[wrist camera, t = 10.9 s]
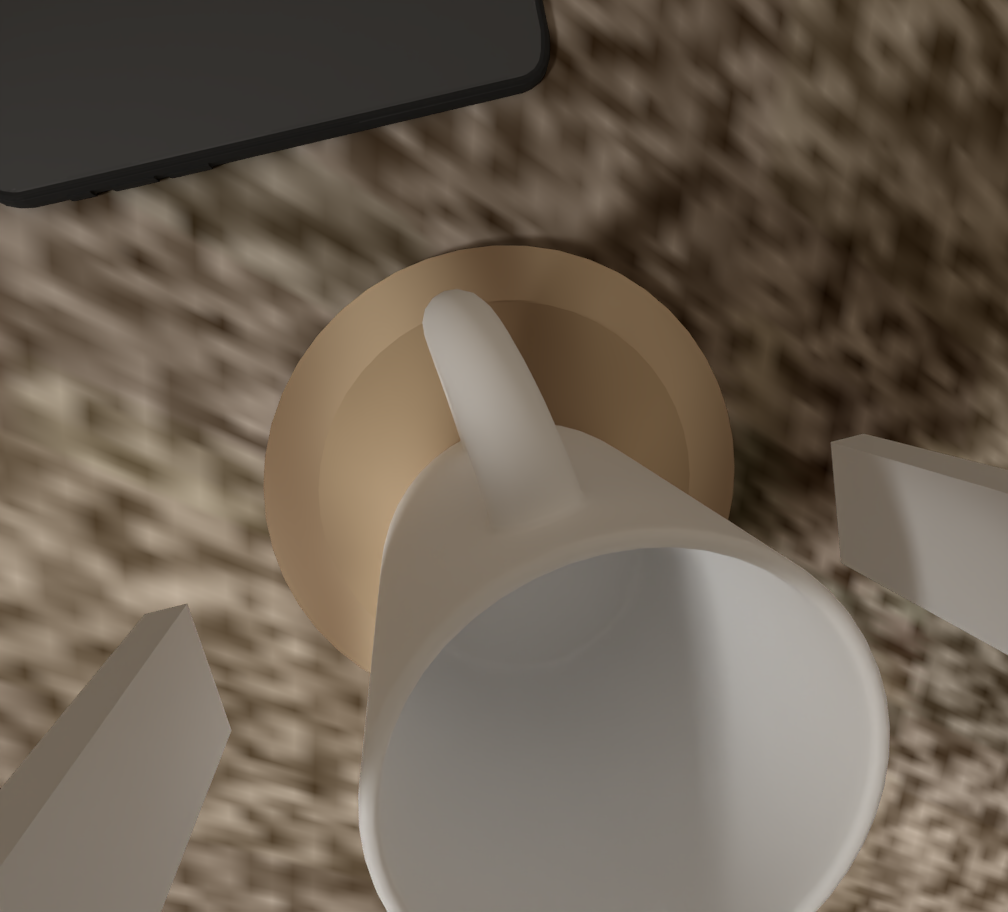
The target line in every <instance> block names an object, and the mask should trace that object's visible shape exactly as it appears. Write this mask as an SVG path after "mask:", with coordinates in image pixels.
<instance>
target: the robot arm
mask: <svg viewBox="0 0 1008 912" xmlns="http://www.w3.org/2000/svg"><path fill="white" fill-rule="evenodd" d="M831 452H832V464H833V476H834V487H835V499H836V511H837V522H838V534H839V545H840V557H841V563H842V564H844V565H846V566H848V567H849V568H851V569H853V570H855V571H857V572H859V573H860V574H862V575H864V576H866V577H868V578H869V579H871V580H873V581H875V582H877V583H878V584H880V585H882V586H884V587H886V588H887V589H889V590H891V591H893V592H895V593H896V594H898V595H900V596H902V597H904V598H906V599H907V600H909V601H911V602H913V603H915V604H916V605H918V606H920V607H922V608H924V609H925V610H927V611H929V612H931V613H933V614H934V615H936V616H938V617H940V618H942V619H943V620H945V621H947V622H949V623H951V624H953V625H954V626H956V627H958V628H960V629H962V630H963V631H965V632H967V633H969V634H971V635H972V636H974V637H976V638H978V639H980V640H981V641H983V642H985V643H987V644H989V645H990V646H992V647H994V648H996V649H998V650H1000V651H1001V652H1003V653H1005V654H1007V655H1008V470H1006V469H1002V468H998V467H994V466H990V465H986V464H982V463H978V462H974V461H970V460H966V459H962V458H958V457H954V456H950V455H947V454H943V453H939V452H935V451H931V450H927V449H923V448H919V447H915V446H911V445H907V444H903V443H899V442H895V441H891V440H887V439H883V438H879V437H875V436H871V435H867V434H860V435H856V436H853V437H849V438H845V439H841V440H837V441H833V442H831ZM230 732H231V728H230V725H229V722H228V719H227V716H226V713H225V710H224V708H223V705H222V702H221V699H220V696H219V693H218V690H217V687H216V685H215V682H214V679H213V676H212V673H211V670H210V667H209V665H208V662H207V659H206V656H205V653H204V650H203V647H202V644H201V642H200V639H199V636H198V633H197V630H196V627H195V624H194V621H193V619H192V616H191V613H190V610H189V607H188V604H184V605H180V606H176V607H172V608H168V609H164V610H160V611H156V612H152V613H148V614H145V615H144V616H143V617H142V618H141V619H140V621H139V622H138V623H137V624H136V626H135V627H134V628H133V629H132V630H131V632H130V633H129V634H128V635H127V636H126V638H125V639H124V640H123V641H122V642H121V644H120V645H119V646H118V647H117V648H116V650H115V651H114V652H113V653H112V655H111V656H110V657H109V658H108V659H107V661H106V662H105V663H104V664H103V665H102V667H101V668H100V669H99V670H98V671H97V673H96V674H95V675H94V676H93V678H92V679H91V680H90V681H89V682H88V684H87V685H86V686H85V687H84V688H83V690H82V691H81V692H80V693H79V694H78V696H77V697H76V698H75V699H74V701H73V702H72V703H71V704H70V705H69V707H68V708H67V709H66V710H65V711H64V713H63V714H62V715H61V716H60V717H59V719H58V720H57V721H56V722H55V724H54V725H53V726H52V727H51V728H50V730H49V731H48V732H47V733H46V734H45V736H44V737H43V738H42V739H41V740H40V742H39V743H38V744H37V745H36V747H35V748H34V749H33V750H32V751H31V753H30V754H29V755H28V756H27V757H26V759H25V760H24V761H23V762H22V763H21V765H20V766H19V767H18V768H17V769H16V771H15V772H14V773H13V774H12V776H11V777H10V778H9V779H8V780H7V782H6V783H5V784H4V785H3V786H2V788H0V912H161V910H162V908H163V905H164V903H165V900H166V898H167V895H168V892H169V890H170V887H171V885H172V882H173V880H174V877H175V874H176V872H177V869H178V867H179V864H180V861H181V859H182V856H183V854H184V851H185V849H186V846H187V843H188V841H189V838H190V836H191V833H192V830H193V828H194V825H195V823H196V820H197V818H198V815H199V812H200V810H201V807H202V805H203V802H204V800H205V797H206V794H207V792H208V789H209V787H210V784H211V781H212V779H213V776H214V774H215V771H216V769H217V766H218V763H219V761H220V758H221V756H222V753H223V750H224V748H225V745H226V743H227V740H228V738H229V735H230Z"/></svg>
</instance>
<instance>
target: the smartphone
mask: <svg viewBox="0 0 1008 912" xmlns="http://www.w3.org/2000/svg"><path fill="white" fill-rule="evenodd" d="M549 57H550V36H549V30H548V25H547V20H546V15H545V11H544V6H543V1H542V0H0V203H2V204H4V205H6V206H11V207H17V208H35V207H40V206H44V205H48V204H53V203H57V202H61V201H66V200H72V201H78V200H82V199H86V198H91V197H95V196H97V194H96V193H100V192H104V191H109V190H115V191H121V190H125V189H129V188H134V187H138V186H142V185H146V184H151V183H155V182H159V179H160V178H165V177H170V178H176V177H181V176H185V175H189V174H193V173H198V172H202V171H206V170H210V169H213V168H212V166H216V165H220V164H225V163H229V162H233V161H237V160H241V159H246V158H250V157H254V156H258V155H263V154H267V153H271V152H275V151H279V150H284V149H288V148H292V147H296V146H301V145H305V144H309V143H313V142H317V141H322V140H326V139H330V138H334V137H339V136H343V135H347V134H351V133H355V132H360V131H364V130H368V129H372V128H377V127H381V126H385V125H389V124H393V123H398V122H402V121H406V120H410V119H415V118H419V117H423V116H427V115H431V114H436V113H440V112H444V111H448V110H453V109H457V108H461V107H465V106H469V105H474V104H478V103H482V102H486V101H491V100H495V99H499V98H503V97H507V96H512V95H516V94H520V93H523V92H526V91H528V90H530V89H532V88H533V87H535V86H536V85H537V84H538V83H540V82H541V80H542V78H543V77H544V75H545V73H546V70H547V66H548V62H549Z"/></svg>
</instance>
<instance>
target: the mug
mask: <svg viewBox="0 0 1008 912" xmlns="http://www.w3.org/2000/svg"><path fill="white" fill-rule="evenodd" d="M422 324H423V330H424V336H425V339H426V342H427V345H428V348H429V350H430V353H431V356H432V359H433V362H434V364H435V367H436V370H437V373H438V376H439V378H440V381H441V384H442V387H443V390H444V392H445V395H446V398H447V401H448V404H449V407H450V410H451V413H452V416H453V419H454V421H455V425H456V428H457V431H458V434H459V437H460V440H461V441H459V442H458V443H456V444H454V445H452V446H451V447H449V448H448V449H447V450H445V451H444V452H443V453H441V454H440V455H439V456H437V457H436V458H435V459H434V460H433V461H432V462H430V463H429V464H428V465H427V466H426V467H425V468H424V469H423V470H422V471H421V472H420V474H419V475H418V476H417V477H416V479H415V480H414V481H413V482H412V484H411V485H410V486H409V487H408V489H407V490H406V492H405V494H404V495H403V497H402V499H401V501H400V502H399V504H398V506H397V508H396V511H395V513H394V515H393V518H392V520H391V522H390V526H389V529H388V533H387V536H386V540H385V544H384V548H383V555H382V564H381V572H380V582H379V592H378V602H377V612H376V622H375V632H374V642H373V652H372V662H371V672H370V682H369V692H368V702H367V712H366V722H365V732H364V742H363V752H362V762H361V772H360V782H359V792H358V806H359V830H360V835H361V841H362V846H363V852H364V857H365V861H366V864H367V867H368V870H369V872H370V875H371V878H372V881H373V884H374V887H375V889H376V891H377V894H378V895H379V897H380V899H381V901H382V903H383V904H384V906H385V908H386V910H387V912H816V911H817V910H818V909H819V908H820V907H821V906H822V904H823V903H824V902H825V901H826V900H827V899H828V898H829V897H830V895H831V894H832V892H833V891H834V890H835V888H836V887H837V886H838V884H839V883H840V881H841V880H842V879H843V877H844V876H845V875H846V873H847V872H848V870H849V868H850V867H851V865H852V863H853V861H854V860H855V858H856V856H857V854H858V853H859V851H860V849H861V847H862V846H863V844H864V842H865V839H866V837H867V835H868V832H869V830H870V828H871V825H872V823H873V821H874V818H875V816H876V813H877V809H878V806H879V803H880V799H881V796H882V792H883V789H884V785H885V779H886V772H887V766H888V760H889V739H890V724H889V715H888V706H887V698H886V694H885V690H884V686H883V683H882V679H881V675H880V671H879V668H878V666H877V664H876V661H875V659H874V657H873V654H872V652H871V650H870V648H869V645H868V643H867V641H866V639H865V637H864V636H863V634H862V632H861V631H860V629H859V628H858V626H857V625H856V623H855V621H854V620H853V618H852V617H851V615H850V613H849V612H848V611H847V610H846V609H845V607H844V606H843V605H842V604H841V603H840V602H839V601H838V599H837V598H836V597H835V596H834V595H833V594H832V593H831V591H830V590H829V589H828V588H826V587H825V586H824V585H823V584H822V583H820V582H819V581H818V580H817V579H816V578H814V577H813V576H812V575H811V574H810V573H808V572H807V571H806V570H805V569H803V568H802V567H800V566H799V565H797V564H795V563H794V562H792V561H791V560H789V559H788V558H786V557H785V556H783V555H781V554H780V553H778V552H777V551H775V550H774V549H772V548H771V547H769V546H767V545H766V544H764V543H763V542H761V541H760V540H758V539H756V538H755V537H753V536H752V535H750V534H749V533H747V532H746V531H744V530H742V529H741V528H739V527H738V526H736V525H735V524H733V523H731V522H730V521H728V520H727V519H725V518H724V517H722V516H721V515H719V514H717V513H716V512H714V511H713V510H711V509H710V508H708V507H706V506H705V505H703V504H702V503H700V502H699V501H697V500H696V499H694V498H692V497H691V496H689V495H688V494H686V493H685V492H683V491H681V490H680V489H678V488H677V487H675V486H674V485H672V484H671V483H669V482H667V481H666V480H664V479H663V478H661V477H660V476H658V475H656V474H655V473H653V472H652V471H650V470H649V469H647V468H646V467H644V466H642V465H641V464H639V463H638V462H636V461H635V460H633V459H632V458H630V457H628V456H627V455H625V454H624V453H622V452H620V451H619V450H617V449H615V448H614V447H612V446H610V445H609V444H607V443H605V442H604V441H602V440H600V439H598V438H595V437H593V436H591V435H588V434H586V433H584V432H581V431H579V430H575V429H571V428H567V427H563V426H559V425H555V423H554V421H553V419H552V416H551V414H550V412H549V410H548V407H547V405H546V403H545V401H544V399H543V397H542V395H541V393H540V390H539V388H538V386H537V384H536V382H535V380H534V378H533V376H532V374H531V372H530V370H529V369H528V367H527V365H526V363H525V361H524V359H523V357H522V355H521V354H520V352H519V350H518V348H517V347H516V345H515V343H514V341H513V340H512V338H511V336H510V334H509V333H508V331H507V329H506V328H505V326H504V325H503V323H502V322H501V320H500V318H499V317H498V316H497V314H496V313H495V312H494V310H493V309H492V308H491V307H490V306H489V305H488V304H487V303H486V302H485V301H484V300H482V299H481V298H480V297H478V296H477V295H476V294H474V293H472V292H468V291H464V290H460V289H454V290H447V291H443V292H441V293H440V294H438V295H437V296H435V297H434V298H432V300H431V301H430V303H429V304H428V306H427V307H426V308H425V311H424V316H423V321H422Z"/></svg>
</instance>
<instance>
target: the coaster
mask: <svg viewBox="0 0 1008 912" xmlns="http://www.w3.org/2000/svg"><path fill="white" fill-rule="evenodd" d="M454 289H460V290H464V291H468V292H472V293H474V294H476V295H477V296H478V297H480V298H481V299H482V300H484V301H485V302H486V303H487V304H488V305H489V306H490V307H491V308H492V309H493V310H494V312H495V313H496V314H497V316H498V317H499V318H500V320H501V322H502V323H503V325H504V326H505V328H506V329H507V331H508V333H509V334H510V336H511V338H512V340H513V341H514V343H515V345H516V347H517V348H518V350H519V352H520V354H521V355H522V357H523V359H524V361H525V363H526V365H527V367H528V369H529V370H530V372H531V374H532V376H533V378H534V380H535V382H536V384H537V386H538V388H539V390H540V393H541V395H542V397H543V399H544V401H545V403H546V405H547V407H548V410H549V412H550V414H551V416H552V419H553V421H554V423H555V425H559V426H563V427H567V428H571V429H575V430H579V431H581V432H584V433H586V434H588V435H591V436H593V437H595V438H598V439H600V440H602V441H604V442H605V443H607V444H609V445H610V446H612V447H614V448H615V449H617V450H619V451H620V452H622V453H624V454H625V455H627V456H628V457H630V458H632V459H633V460H635V461H636V462H638V463H639V464H641V465H642V466H644V467H646V468H647V469H649V470H650V471H652V472H653V473H655V474H656V475H658V476H660V477H661V478H663V479H664V480H666V481H667V482H669V483H671V484H672V485H674V486H675V487H677V488H678V489H680V490H681V491H683V492H685V493H686V494H688V495H689V496H691V497H692V498H694V499H696V500H697V501H699V502H700V503H702V504H703V505H705V506H706V507H708V508H710V509H711V510H713V511H714V512H716V513H717V514H719V515H721V516H722V517H724V518H725V519H727V520H728V518H729V513H730V508H731V503H732V498H733V485H734V471H735V466H734V449H733V437H732V432H731V427H730V422H729V416H728V411H727V408H726V405H725V402H724V399H723V396H722V393H721V390H720V387H719V384H718V382H717V380H716V378H715V376H714V374H713V371H712V369H711V367H710V365H709V363H708V361H707V359H706V357H705V356H704V354H703V353H702V351H701V350H700V348H699V347H698V345H697V344H696V342H695V341H694V339H693V338H692V336H691V335H690V333H689V332H688V331H687V330H686V328H685V327H684V326H683V325H682V324H681V323H680V322H679V321H678V319H677V318H676V317H675V316H674V315H673V314H672V313H671V312H670V310H669V309H668V308H666V307H665V306H664V305H663V304H662V303H660V302H659V301H658V300H657V299H656V298H655V297H653V296H652V295H651V294H650V293H649V292H647V291H646V290H645V289H644V288H642V287H640V286H639V285H637V284H636V283H634V282H633V281H631V280H629V279H628V278H626V277H625V276H623V275H621V274H620V273H618V272H616V271H614V270H612V269H609V268H607V267H605V266H603V265H601V264H598V263H596V262H594V261H592V260H589V259H586V258H583V257H579V256H576V255H572V254H569V253H566V252H562V251H559V250H552V249H545V248H538V247H532V246H496V245H493V246H485V247H478V248H470V249H462V250H457V251H454V252H450V253H447V254H443V255H439V256H436V257H432V258H428V259H426V260H423V261H421V262H419V263H416V264H414V265H412V266H409V267H407V268H405V269H402V270H400V271H398V272H396V273H394V274H392V275H391V276H389V277H387V278H386V279H384V280H382V281H381V282H379V283H377V284H376V285H374V286H372V287H371V288H369V289H367V290H366V291H365V292H363V293H362V294H361V295H360V296H359V297H357V298H356V299H355V300H354V301H352V302H351V303H350V304H349V305H347V306H346V307H345V308H344V309H342V310H341V311H340V312H339V313H338V314H337V315H336V316H335V317H334V319H333V320H332V321H331V322H330V323H329V324H328V325H327V326H326V327H325V328H324V329H323V330H322V331H321V332H320V333H319V335H318V336H317V337H316V338H315V340H314V341H313V343H312V344H311V345H310V347H309V348H308V350H307V351H306V352H305V354H304V355H303V357H302V358H301V360H300V361H299V362H298V364H297V366H296V368H295V370H294V372H293V374H292V376H291V377H290V379H289V381H288V383H287V385H286V387H285V389H284V391H283V393H282V396H281V399H280V402H279V404H278V407H277V410H276V413H275V416H274V419H273V422H272V425H271V430H270V435H269V440H268V445H267V450H266V455H265V470H264V500H265V511H266V521H267V525H268V529H269V534H270V538H271V542H272V547H273V551H274V553H275V556H276V558H277V561H278V564H279V566H280V569H281V571H282V574H283V577H284V579H285V581H286V583H287V584H288V586H289V588H290V590H291V592H292V593H293V595H294V597H295V599H296V601H297V602H298V604H299V606H300V607H301V608H302V610H303V611H304V612H305V614H306V615H307V616H308V618H309V619H310V620H311V622H312V623H313V624H314V626H315V627H316V628H317V629H318V630H319V631H320V632H321V633H322V634H323V635H324V637H325V638H326V639H327V640H328V641H329V642H330V643H331V644H332V645H333V646H334V647H335V648H336V649H337V650H339V651H340V652H341V653H342V654H344V655H345V656H346V657H348V658H349V659H350V660H351V661H353V662H354V663H355V664H357V665H358V666H359V667H361V668H362V669H364V670H366V671H367V672H369V673H370V672H371V662H372V652H373V642H374V632H375V622H376V612H377V602H378V592H379V582H380V572H381V564H382V555H383V548H384V544H385V540H386V536H387V533H388V529H389V526H390V522H391V520H392V518H393V515H394V513H395V511H396V508H397V506H398V504H399V502H400V501H401V499H402V497H403V495H404V494H405V492H406V490H407V489H408V487H409V486H410V485H411V484H412V482H413V481H414V480H415V479H416V477H417V476H418V475H419V474H420V472H421V471H422V470H423V469H424V468H425V467H426V466H427V465H428V464H429V463H430V462H432V461H433V460H434V459H435V458H436V457H437V456H439V455H440V454H441V453H443V452H444V451H445V450H447V449H448V448H449V447H451V446H452V445H454V444H456V443H458V442H459V441H461V440H460V437H459V434H458V431H457V428H456V425H455V421H454V419H453V416H452V413H451V410H450V407H449V404H448V401H447V398H446V395H445V392H444V390H443V387H442V384H441V381H440V378H439V376H438V373H437V370H436V367H435V364H434V362H433V359H432V356H431V353H430V350H429V348H428V345H427V342H426V339H425V336H424V330H423V324H422V321H423V316H424V311H425V308H426V307H427V306H428V304H429V303H430V301H431V300H432V298H434V297H435V296H437V295H438V294H440V293H441V292H443V291H447V290H454Z"/></svg>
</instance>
